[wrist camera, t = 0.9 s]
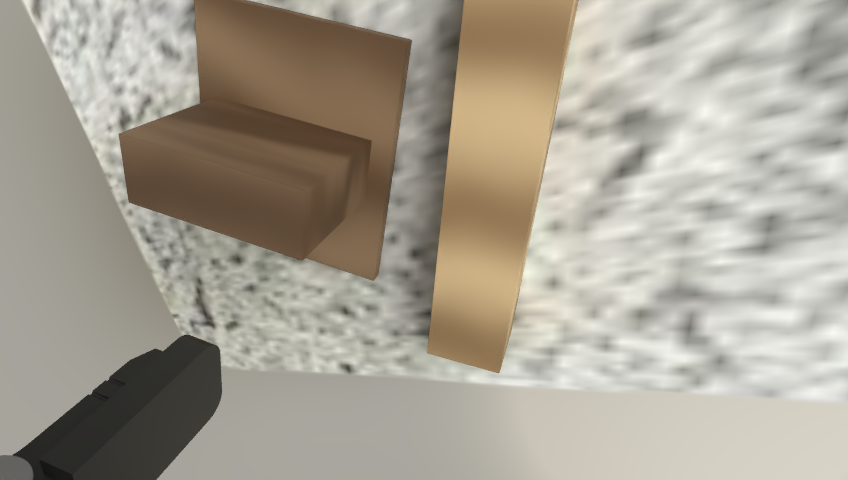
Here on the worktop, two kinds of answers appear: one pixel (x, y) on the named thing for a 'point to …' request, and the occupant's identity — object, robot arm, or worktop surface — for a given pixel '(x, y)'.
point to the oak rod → (495, 170)
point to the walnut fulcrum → (280, 135)
